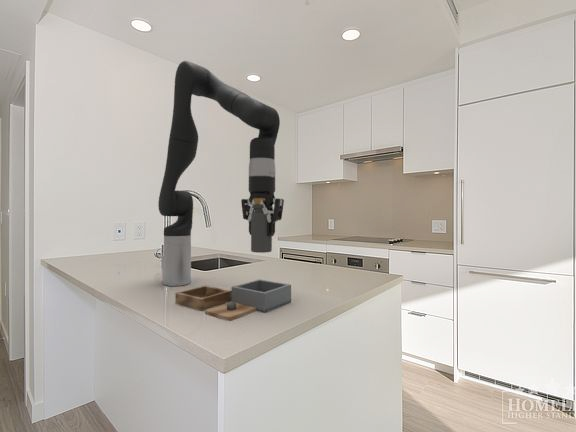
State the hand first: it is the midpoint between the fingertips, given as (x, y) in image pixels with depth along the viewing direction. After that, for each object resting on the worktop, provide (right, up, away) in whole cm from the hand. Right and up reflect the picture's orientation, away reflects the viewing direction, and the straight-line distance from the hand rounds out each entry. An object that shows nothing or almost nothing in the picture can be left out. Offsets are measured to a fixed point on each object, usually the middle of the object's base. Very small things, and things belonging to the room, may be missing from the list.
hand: (261, 235), depth 90 cm
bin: (0, -19, 0) cm, 19 cm away
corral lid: (-7, -20, -7) cm, 22 cm away
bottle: (0, -5, 0) cm, 5 cm away
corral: (-17, -19, +1) cm, 26 cm away
